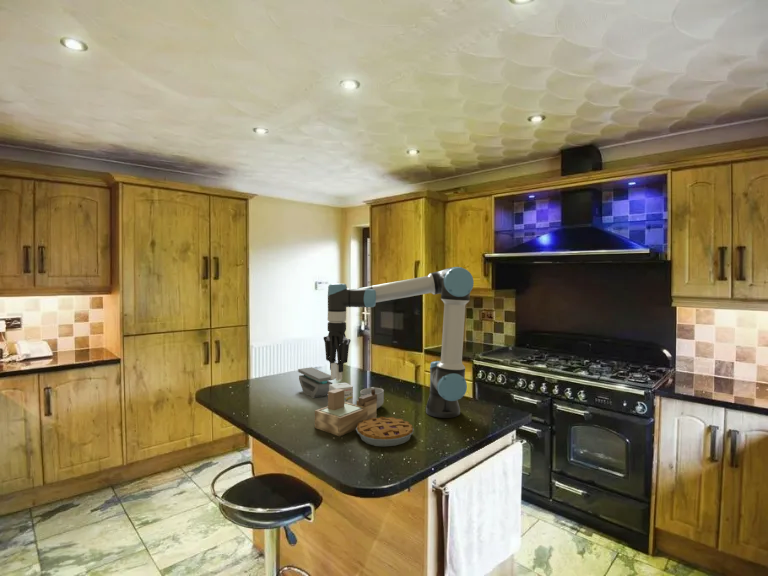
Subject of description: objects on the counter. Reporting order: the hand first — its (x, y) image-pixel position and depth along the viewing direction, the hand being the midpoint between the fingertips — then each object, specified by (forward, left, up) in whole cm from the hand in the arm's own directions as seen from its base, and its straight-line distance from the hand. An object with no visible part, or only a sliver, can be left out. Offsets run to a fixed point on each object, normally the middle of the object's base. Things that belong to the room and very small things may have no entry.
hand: (336, 379), depth 172 cm
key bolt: (-6, -12, -11) cm, 18 cm away
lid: (-3, 0, -13) cm, 13 cm away
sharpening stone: (+40, -25, -19) cm, 51 cm away
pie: (-23, -3, -19) cm, 30 cm away
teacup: (+4, -28, -19) cm, 34 cm away
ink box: (+11, -14, -19) cm, 26 cm away
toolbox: (-3, -3, -19) cm, 19 cm away
